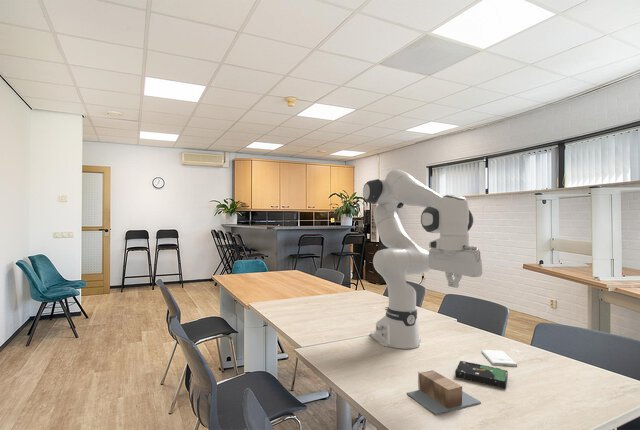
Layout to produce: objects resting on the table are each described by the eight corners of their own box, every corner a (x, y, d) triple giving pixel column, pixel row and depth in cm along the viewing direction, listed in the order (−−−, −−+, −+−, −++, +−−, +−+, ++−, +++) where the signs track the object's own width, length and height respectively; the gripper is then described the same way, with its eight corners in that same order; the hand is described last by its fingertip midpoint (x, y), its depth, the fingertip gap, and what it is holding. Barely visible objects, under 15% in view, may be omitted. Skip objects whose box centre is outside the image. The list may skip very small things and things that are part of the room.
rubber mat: (406, 393, 104) (406, 392, 104) (449, 384, 110) (449, 383, 110) (435, 415, 93) (435, 413, 93) (480, 403, 99) (480, 401, 99)
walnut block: (418, 372, 106) (448, 389, 95) (431, 369, 108) (462, 386, 97) (418, 388, 106) (448, 408, 95) (431, 385, 108) (462, 404, 97)
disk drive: (454, 379, 115) (506, 390, 108) (454, 370, 115) (506, 381, 108) (459, 368, 124) (507, 377, 117) (459, 360, 124) (507, 369, 117)
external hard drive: (503, 355, 137) (517, 368, 125) (481, 353, 138) (492, 366, 126) (503, 350, 137) (517, 363, 125) (481, 349, 138) (492, 362, 126)
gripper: (487, 246, 108) (486, 292, 108) (439, 242, 127) (438, 281, 126) (472, 247, 105) (471, 294, 105) (425, 242, 124) (424, 282, 124)
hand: (453, 287), depth 116 cm, fingers closed
